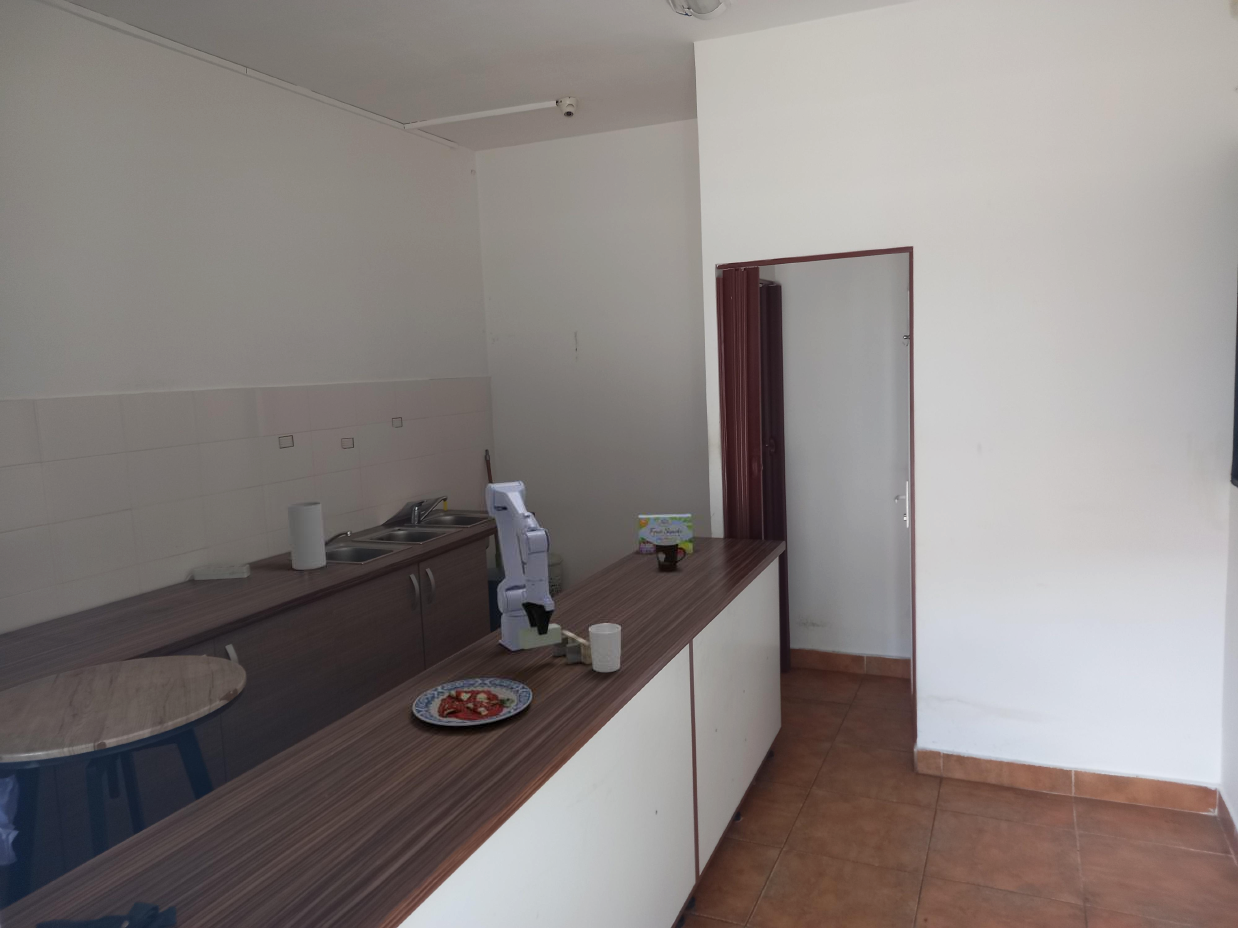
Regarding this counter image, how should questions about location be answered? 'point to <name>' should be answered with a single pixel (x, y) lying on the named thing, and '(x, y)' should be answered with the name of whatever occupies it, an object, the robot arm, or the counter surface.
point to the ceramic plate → (472, 701)
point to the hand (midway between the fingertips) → (539, 632)
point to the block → (539, 637)
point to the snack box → (665, 531)
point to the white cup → (605, 647)
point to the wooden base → (573, 648)
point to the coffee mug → (668, 555)
